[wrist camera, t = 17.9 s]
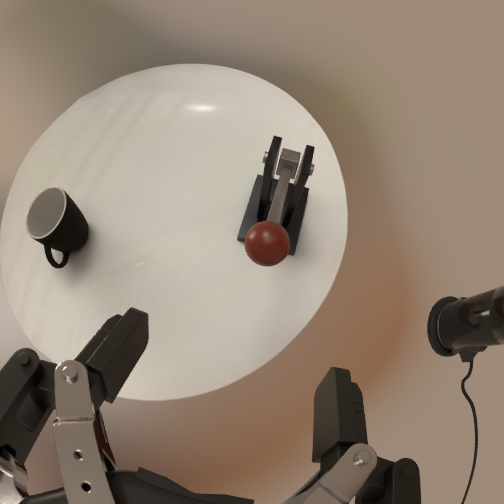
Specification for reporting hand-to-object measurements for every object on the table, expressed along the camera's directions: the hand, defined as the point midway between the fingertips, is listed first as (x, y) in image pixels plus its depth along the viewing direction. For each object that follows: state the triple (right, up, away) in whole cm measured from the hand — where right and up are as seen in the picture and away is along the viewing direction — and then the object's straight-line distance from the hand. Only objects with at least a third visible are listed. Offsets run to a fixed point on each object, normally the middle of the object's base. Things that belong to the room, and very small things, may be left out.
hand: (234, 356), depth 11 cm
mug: (-31, +6, +31) cm, 44 cm away
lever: (+3, +9, +17) cm, 19 cm away
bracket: (+4, +10, +34) cm, 36 cm away
